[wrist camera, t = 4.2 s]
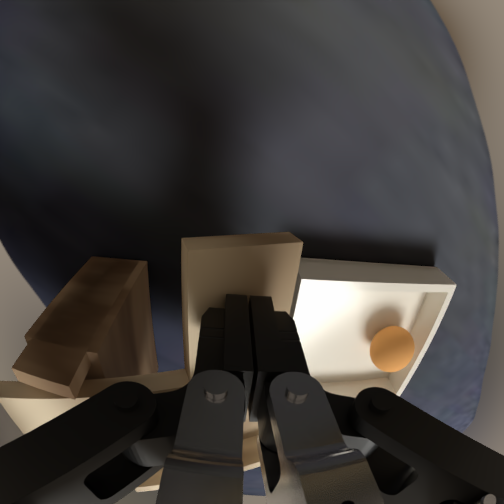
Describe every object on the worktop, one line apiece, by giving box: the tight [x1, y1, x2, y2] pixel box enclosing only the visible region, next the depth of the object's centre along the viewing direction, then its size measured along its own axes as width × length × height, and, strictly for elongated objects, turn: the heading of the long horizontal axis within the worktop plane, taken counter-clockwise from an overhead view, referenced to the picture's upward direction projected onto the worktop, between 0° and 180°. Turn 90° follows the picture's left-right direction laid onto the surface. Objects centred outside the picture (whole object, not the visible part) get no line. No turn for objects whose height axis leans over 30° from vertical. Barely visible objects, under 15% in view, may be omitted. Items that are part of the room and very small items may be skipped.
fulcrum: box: [12, 256, 158, 400], centre depth 15 cm, size 4×10×10 cm, turn 174°
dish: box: [289, 258, 456, 398], centre depth 20 cm, size 12×12×3 cm
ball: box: [370, 326, 415, 372], centre depth 19 cm, size 4×4×4 cm
